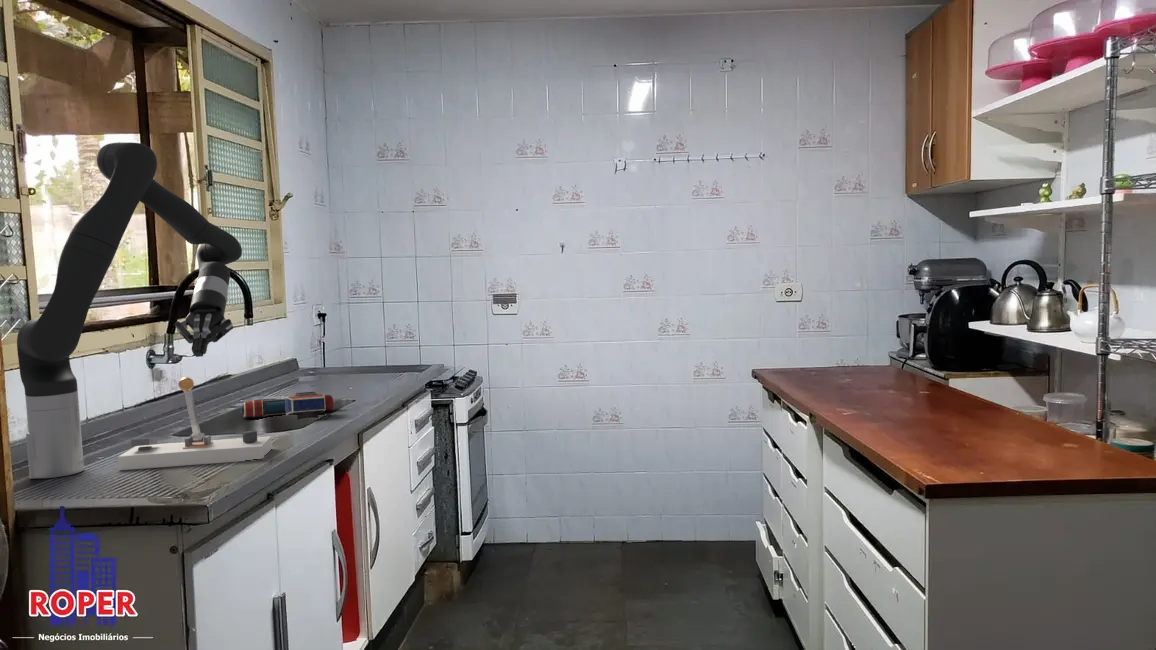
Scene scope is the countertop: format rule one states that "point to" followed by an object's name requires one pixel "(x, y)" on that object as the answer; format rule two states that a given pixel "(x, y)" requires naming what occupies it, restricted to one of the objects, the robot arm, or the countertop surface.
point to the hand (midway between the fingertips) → (198, 354)
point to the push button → (249, 436)
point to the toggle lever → (191, 409)
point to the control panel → (194, 453)
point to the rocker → (144, 442)
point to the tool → (289, 406)
